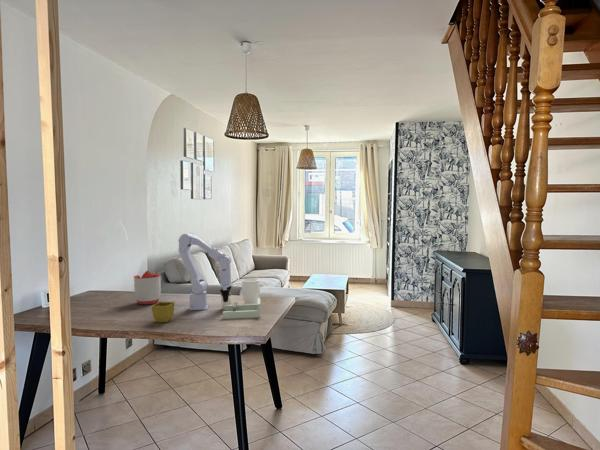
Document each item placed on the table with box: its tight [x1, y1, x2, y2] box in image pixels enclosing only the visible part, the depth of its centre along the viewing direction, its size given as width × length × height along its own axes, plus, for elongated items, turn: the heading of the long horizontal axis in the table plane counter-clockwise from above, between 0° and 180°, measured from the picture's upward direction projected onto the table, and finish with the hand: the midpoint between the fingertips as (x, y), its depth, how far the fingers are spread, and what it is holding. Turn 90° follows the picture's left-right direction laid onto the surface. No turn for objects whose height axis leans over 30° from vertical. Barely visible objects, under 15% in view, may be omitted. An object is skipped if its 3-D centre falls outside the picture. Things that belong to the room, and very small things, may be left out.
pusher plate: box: [233, 302, 238, 311], centre depth 214 cm, size 2×11×5 cm, turn 6°
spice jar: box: [220, 291, 232, 311], centre depth 227 cm, size 6×6×9 cm
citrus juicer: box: [133, 270, 162, 305], centre depth 245 cm, size 16×17×20 cm
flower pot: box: [150, 301, 175, 323], centre depth 204 cm, size 9×9×9 cm
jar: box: [241, 278, 261, 305], centre depth 236 cm, size 11×10×15 cm
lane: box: [222, 297, 262, 320], centre depth 215 cm, size 20×15×7 cm
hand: (226, 300), depth 227 cm, fingers open, 7 cm apart
